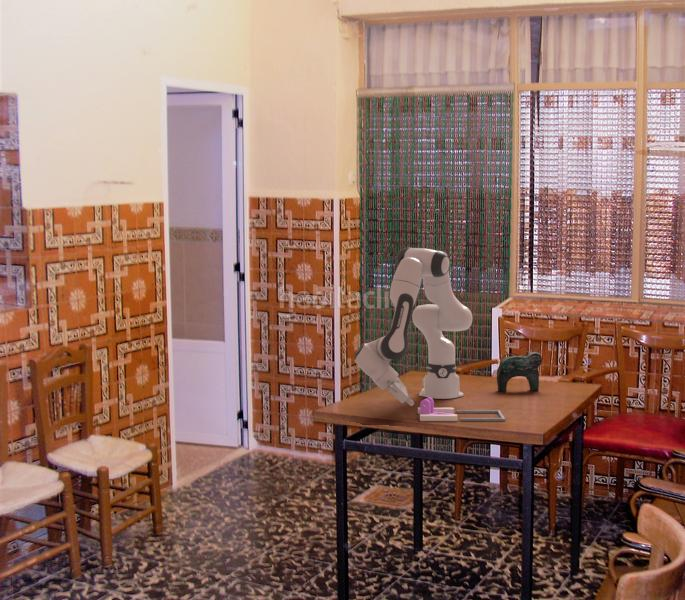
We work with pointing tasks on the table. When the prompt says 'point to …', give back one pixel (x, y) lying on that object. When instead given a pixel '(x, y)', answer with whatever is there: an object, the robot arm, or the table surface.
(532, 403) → the table surface
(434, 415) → the cream grey rectangular frame
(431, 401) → the bracket
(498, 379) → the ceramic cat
